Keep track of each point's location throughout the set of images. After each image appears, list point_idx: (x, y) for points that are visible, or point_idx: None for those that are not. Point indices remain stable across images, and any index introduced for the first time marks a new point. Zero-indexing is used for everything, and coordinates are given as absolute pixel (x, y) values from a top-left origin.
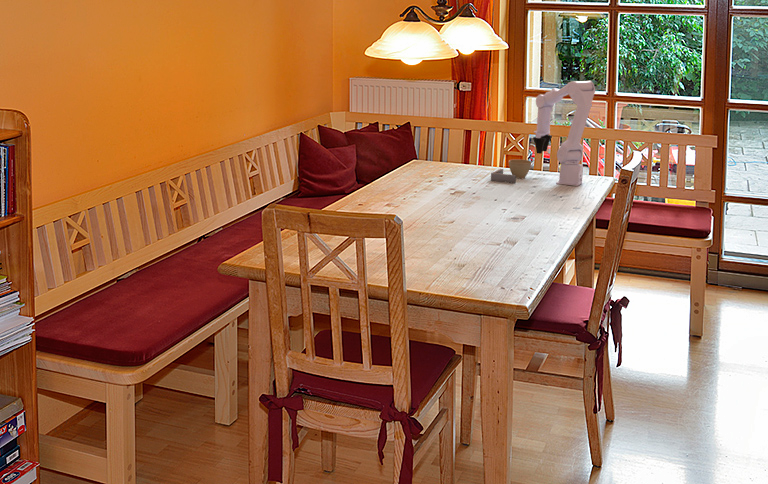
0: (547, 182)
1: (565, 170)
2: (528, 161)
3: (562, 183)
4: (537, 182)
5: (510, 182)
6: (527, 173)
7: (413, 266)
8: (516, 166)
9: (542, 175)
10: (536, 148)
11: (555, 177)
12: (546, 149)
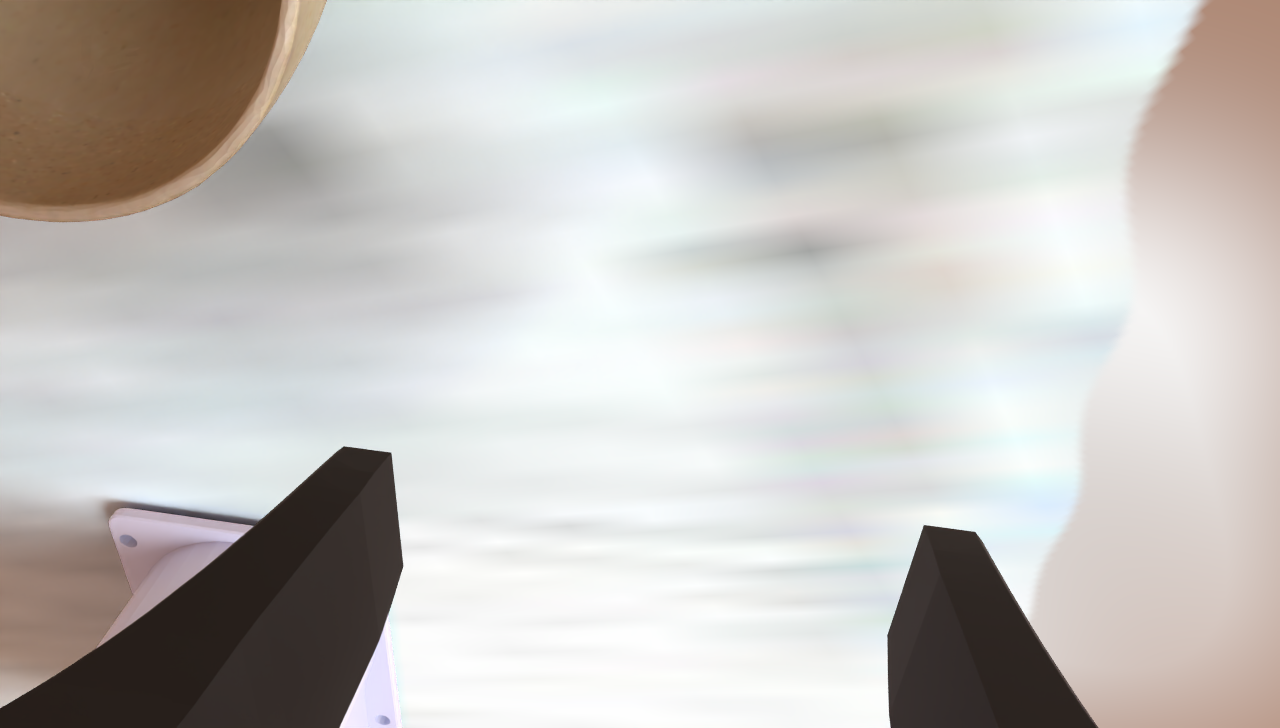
0: (132, 393)
1: None
2: (259, 88)
3: (129, 581)
4: (4, 261)
5: None
6: (209, 25)
7: None
8: None
9: (697, 234)
10: (228, 561)
11: (617, 449)
12: (891, 705)
